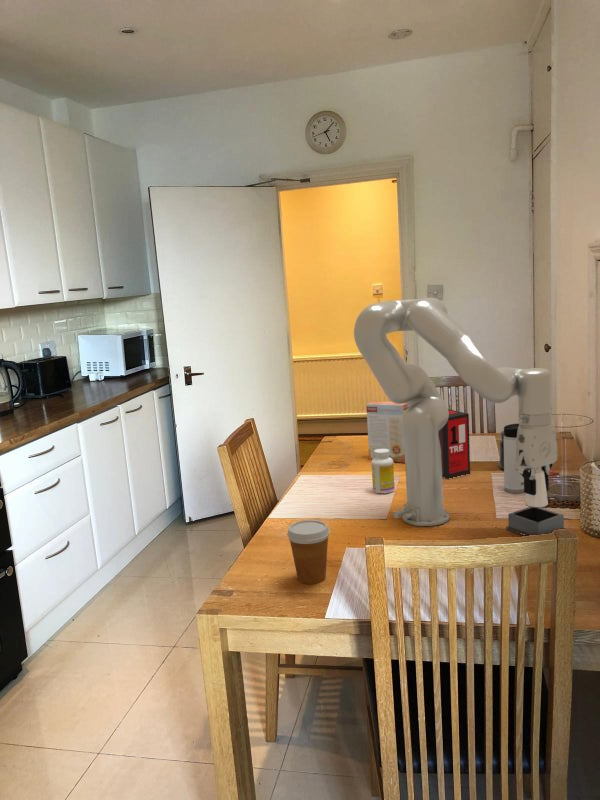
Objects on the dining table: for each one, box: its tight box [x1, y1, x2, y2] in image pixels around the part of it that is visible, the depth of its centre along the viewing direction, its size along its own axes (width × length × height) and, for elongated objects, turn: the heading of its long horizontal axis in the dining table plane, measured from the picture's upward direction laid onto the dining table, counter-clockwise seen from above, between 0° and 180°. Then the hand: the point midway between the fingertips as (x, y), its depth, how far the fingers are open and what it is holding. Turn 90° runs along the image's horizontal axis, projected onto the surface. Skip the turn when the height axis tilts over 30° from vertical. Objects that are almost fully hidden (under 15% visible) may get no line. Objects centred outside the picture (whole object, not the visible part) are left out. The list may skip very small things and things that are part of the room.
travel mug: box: [503, 422, 525, 494], centre depth 195 cm, size 6×7×20 cm
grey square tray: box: [505, 506, 567, 537], centre depth 166 cm, size 10×10×4 cm
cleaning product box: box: [439, 408, 471, 480], centre depth 218 cm, size 16×9×20 cm, turn 26°
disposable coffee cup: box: [286, 519, 331, 585], centre depth 148 cm, size 10×10×12 cm
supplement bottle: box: [370, 449, 396, 495], centre depth 203 cm, size 7×7×13 cm
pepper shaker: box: [524, 467, 549, 508], centre depth 164 cm, size 5×5×11 cm
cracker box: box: [365, 400, 409, 464], centre depth 236 cm, size 14×6×21 cm, turn 58°
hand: (536, 491), depth 164 cm, fingers closed on pepper shaker, 3 cm apart
